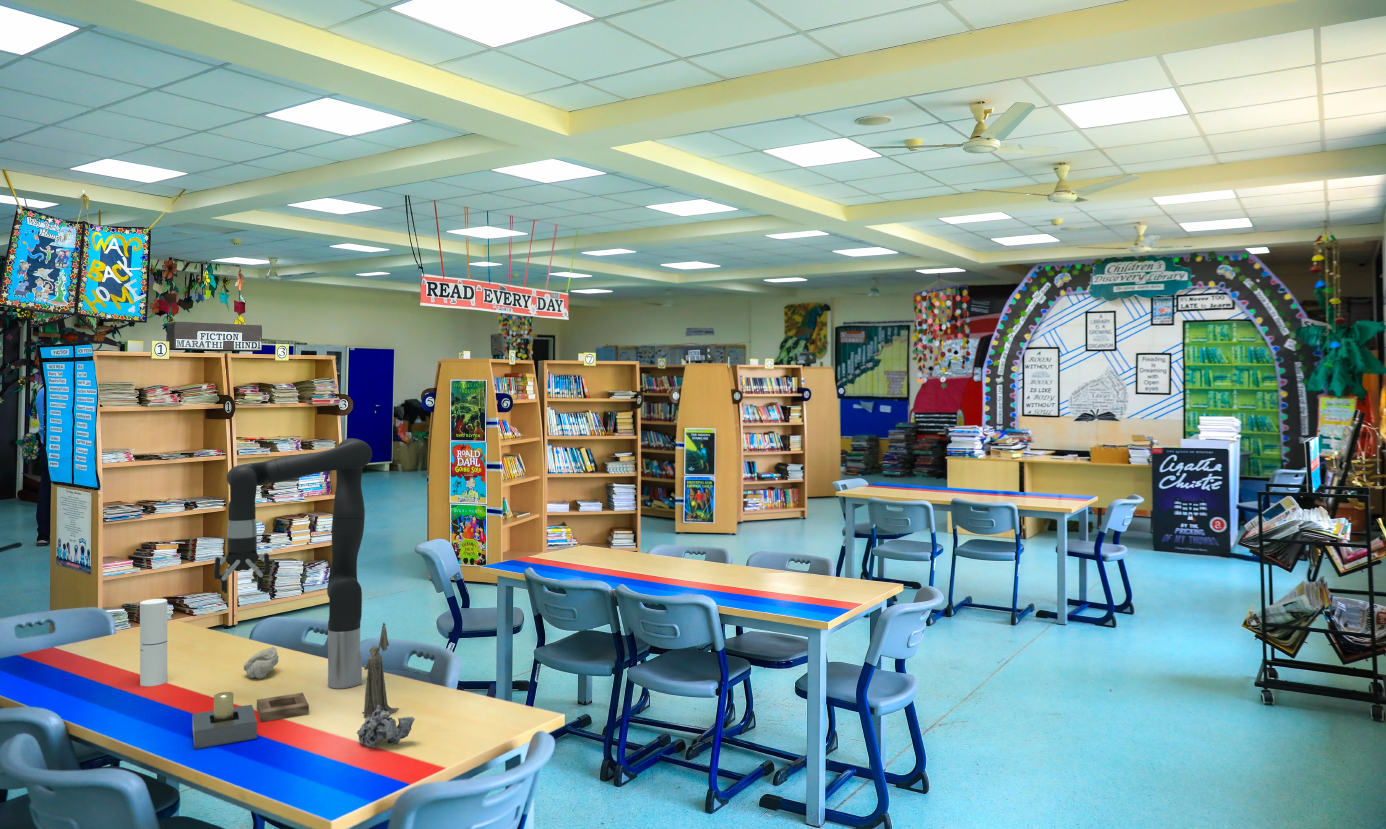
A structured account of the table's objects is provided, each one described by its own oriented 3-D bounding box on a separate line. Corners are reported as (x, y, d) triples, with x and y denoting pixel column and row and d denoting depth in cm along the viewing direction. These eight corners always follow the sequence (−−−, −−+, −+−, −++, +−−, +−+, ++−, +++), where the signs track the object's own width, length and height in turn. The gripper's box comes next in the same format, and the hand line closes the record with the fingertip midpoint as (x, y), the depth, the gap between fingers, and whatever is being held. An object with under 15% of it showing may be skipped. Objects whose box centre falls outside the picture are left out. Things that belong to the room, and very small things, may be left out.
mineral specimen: (421, 726, 226) (396, 692, 225) (393, 752, 218) (367, 717, 217) (395, 739, 233) (371, 706, 233) (367, 764, 225) (342, 731, 224)
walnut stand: (302, 701, 255) (302, 692, 255) (308, 714, 245) (308, 705, 245) (256, 708, 249) (256, 699, 249) (260, 722, 239) (260, 712, 239)
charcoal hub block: (251, 721, 239) (251, 704, 239) (256, 738, 227) (256, 721, 227) (192, 730, 232) (192, 713, 232) (194, 749, 220) (194, 731, 220)
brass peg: (232, 730, 233) (232, 690, 233) (234, 735, 229) (233, 695, 229) (213, 733, 231) (213, 693, 230) (214, 739, 227) (214, 698, 226)
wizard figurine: (383, 704, 253) (383, 617, 253) (403, 709, 249) (403, 621, 248) (352, 714, 245) (353, 625, 244) (372, 721, 240) (372, 629, 240)
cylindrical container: (154, 687, 266) (154, 604, 266) (134, 685, 268) (134, 603, 267) (173, 679, 273) (172, 599, 273) (153, 678, 275) (153, 598, 274)
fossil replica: (245, 683, 271) (280, 680, 276) (248, 657, 270) (283, 654, 276) (240, 670, 281) (274, 667, 286) (242, 644, 280) (276, 642, 286)
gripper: (214, 538, 246) (214, 596, 247) (270, 535, 254) (271, 591, 254) (213, 535, 253) (213, 591, 253) (268, 531, 260) (268, 586, 261)
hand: (242, 591), depth 254 cm, fingers open, 8 cm apart
